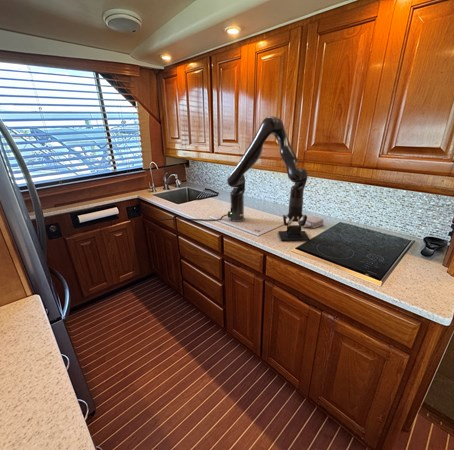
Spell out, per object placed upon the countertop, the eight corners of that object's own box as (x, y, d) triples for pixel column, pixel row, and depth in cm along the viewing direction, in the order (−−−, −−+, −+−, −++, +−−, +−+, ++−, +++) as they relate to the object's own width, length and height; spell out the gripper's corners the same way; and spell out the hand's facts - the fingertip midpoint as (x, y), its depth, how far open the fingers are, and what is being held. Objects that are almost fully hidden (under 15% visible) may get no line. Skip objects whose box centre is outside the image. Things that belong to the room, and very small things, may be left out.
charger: (297, 227, 155) (311, 221, 163) (308, 231, 148) (322, 225, 156) (297, 220, 153) (311, 215, 161) (309, 224, 146) (323, 218, 154)
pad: (289, 234, 138) (290, 228, 136) (288, 230, 143) (288, 225, 141) (299, 234, 137) (299, 228, 136) (297, 230, 143) (297, 225, 141)
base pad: (281, 241, 136) (281, 237, 135) (278, 232, 147) (278, 229, 146) (309, 241, 135) (310, 237, 134) (304, 232, 146) (304, 229, 146)
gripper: (307, 202, 137) (304, 229, 143) (282, 202, 137) (280, 229, 144) (310, 206, 130) (307, 234, 136) (284, 206, 130) (282, 234, 137)
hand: (293, 231), depth 140 cm, fingers closed on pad, 5 cm apart
